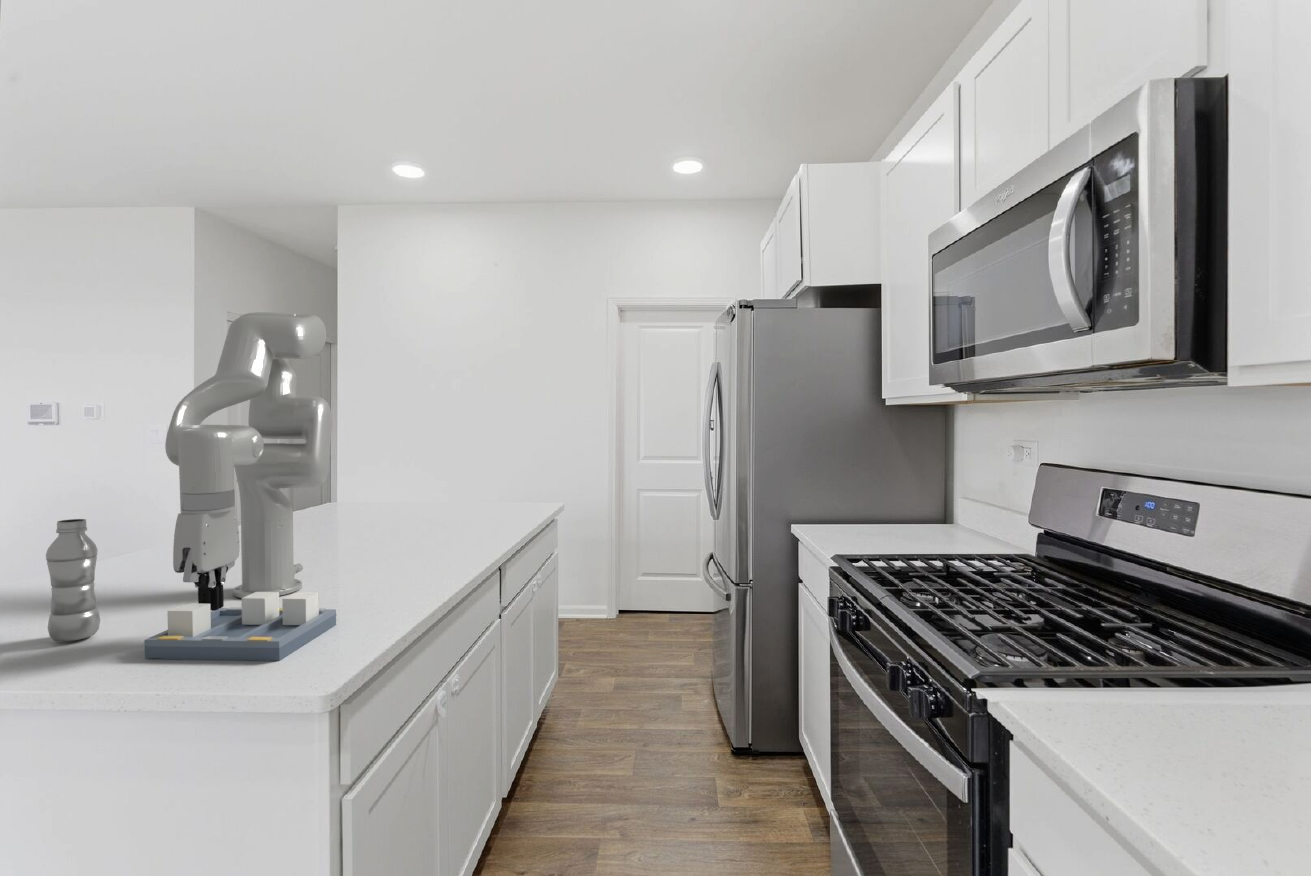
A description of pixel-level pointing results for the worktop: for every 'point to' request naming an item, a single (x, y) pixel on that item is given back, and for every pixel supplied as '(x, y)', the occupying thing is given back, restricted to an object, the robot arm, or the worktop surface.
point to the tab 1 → (189, 620)
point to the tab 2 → (260, 608)
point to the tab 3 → (300, 607)
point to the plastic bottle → (72, 583)
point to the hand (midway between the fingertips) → (211, 608)
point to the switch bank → (240, 638)
